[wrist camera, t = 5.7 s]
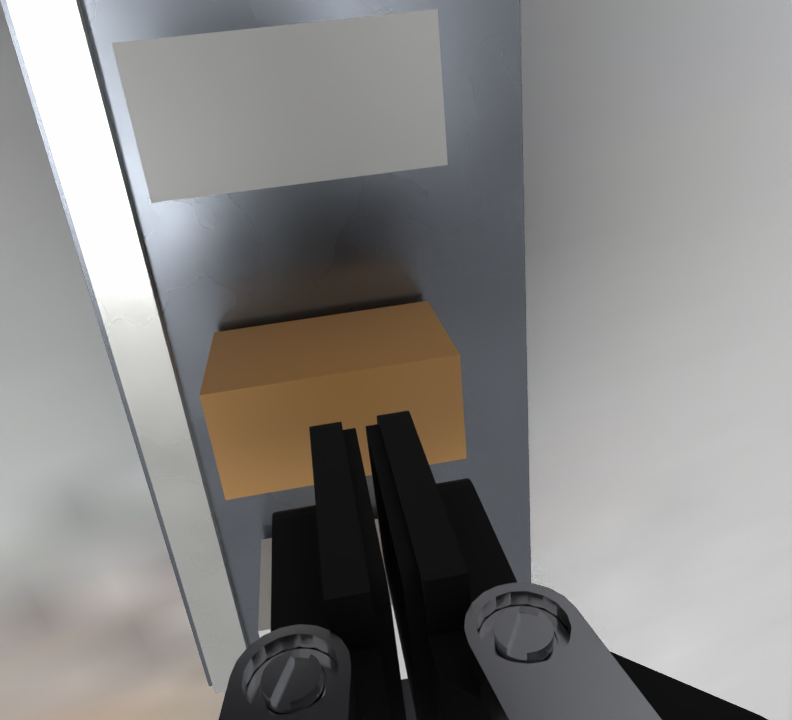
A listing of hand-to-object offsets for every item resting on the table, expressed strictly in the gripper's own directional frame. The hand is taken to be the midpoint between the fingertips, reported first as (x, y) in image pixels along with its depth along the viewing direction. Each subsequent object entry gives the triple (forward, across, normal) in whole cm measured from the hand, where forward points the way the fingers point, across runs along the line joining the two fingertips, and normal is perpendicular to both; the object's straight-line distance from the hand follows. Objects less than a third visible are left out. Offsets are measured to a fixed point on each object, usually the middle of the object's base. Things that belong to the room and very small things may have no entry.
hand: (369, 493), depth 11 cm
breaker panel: (+9, 0, 0) cm, 9 cm away
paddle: (+6, 0, -6) cm, 8 cm away
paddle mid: (+6, 0, 0) cm, 6 cm away
